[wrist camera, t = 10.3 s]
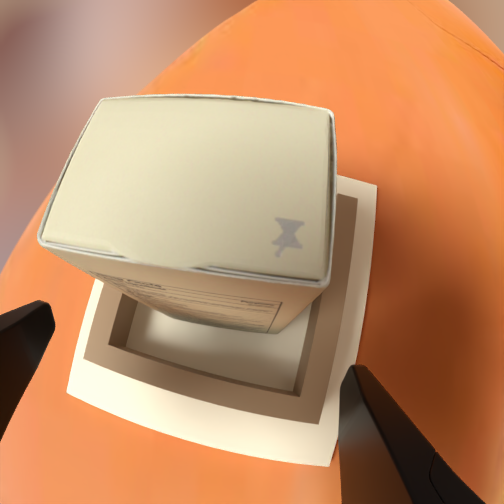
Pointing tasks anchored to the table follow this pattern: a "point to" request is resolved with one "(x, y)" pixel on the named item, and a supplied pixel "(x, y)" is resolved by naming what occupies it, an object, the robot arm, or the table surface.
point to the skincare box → (202, 206)
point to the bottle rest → (236, 359)
